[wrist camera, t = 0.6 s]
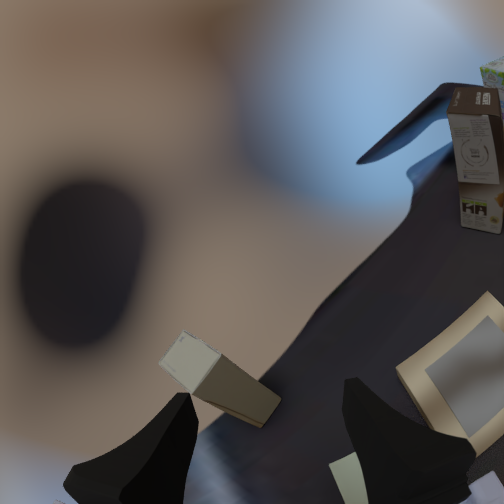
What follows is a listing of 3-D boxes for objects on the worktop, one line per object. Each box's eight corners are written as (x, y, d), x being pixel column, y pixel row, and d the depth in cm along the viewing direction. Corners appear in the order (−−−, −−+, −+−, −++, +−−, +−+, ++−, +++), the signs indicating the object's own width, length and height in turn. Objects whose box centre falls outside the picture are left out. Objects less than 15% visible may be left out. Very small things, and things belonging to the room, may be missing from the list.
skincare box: (227, 404, 31) (155, 363, 25) (247, 375, 33) (182, 327, 26) (263, 429, 27) (189, 396, 20) (285, 397, 29) (221, 352, 22)
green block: (410, 480, 15) (408, 483, 12) (363, 504, 16) (349, 512, 13) (391, 443, 19) (384, 436, 16) (346, 466, 20) (328, 464, 16)
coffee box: (501, 236, 25) (500, 116, 16) (460, 227, 30) (444, 113, 21) (506, 192, 28) (498, 87, 19) (470, 186, 33) (453, 85, 24)
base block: (547, 382, 12) (559, 371, 11) (454, 471, 14) (458, 470, 12) (484, 306, 22) (487, 289, 20) (398, 377, 24) (395, 366, 22)
